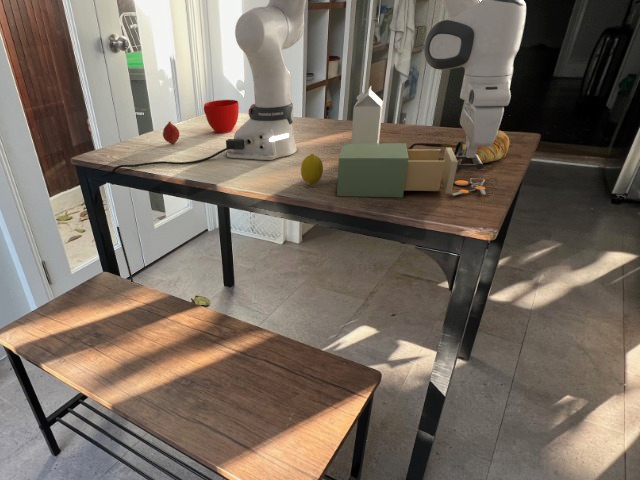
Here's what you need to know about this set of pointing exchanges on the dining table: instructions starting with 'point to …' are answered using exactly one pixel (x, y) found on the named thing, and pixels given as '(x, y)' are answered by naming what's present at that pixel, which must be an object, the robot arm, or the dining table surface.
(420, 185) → the drawer
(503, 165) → the dining table surface
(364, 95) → the milk carton
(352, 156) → the cabinet
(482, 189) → the key chain
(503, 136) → the croissant
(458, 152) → the sunglasses
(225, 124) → the ceramic cup
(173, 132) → the onion
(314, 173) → the lemon
